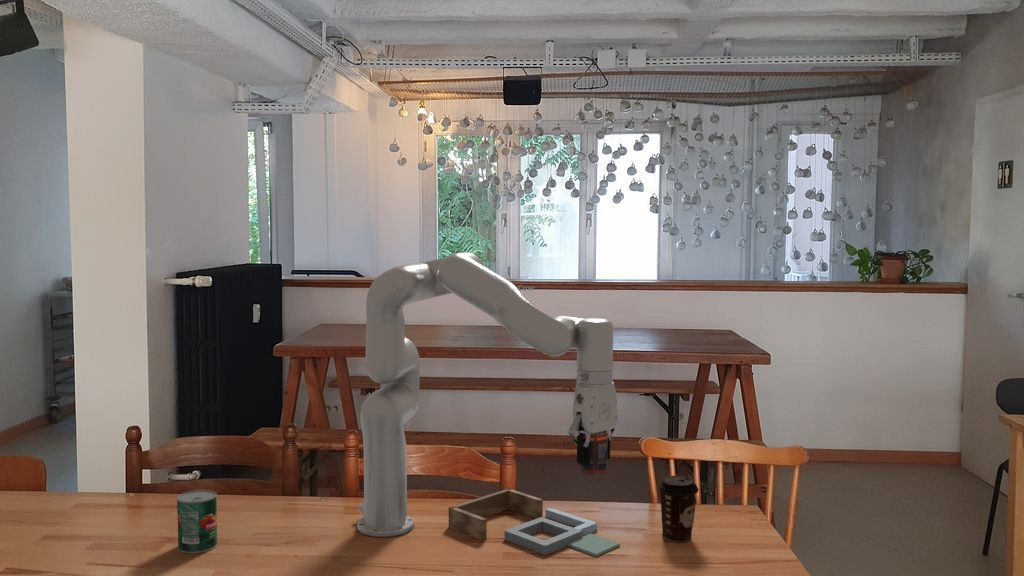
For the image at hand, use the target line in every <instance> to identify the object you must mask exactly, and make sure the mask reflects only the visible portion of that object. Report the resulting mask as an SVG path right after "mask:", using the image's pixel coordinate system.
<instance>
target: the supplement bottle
mask: <svg viewBox="0 0 1024 576" xmlns="http://www.w3.org/2000/svg"><path fill="white" fill-rule="evenodd" d="M583 431H585V430H584V428H583ZM582 437H583V438H585V434H582ZM588 446H589V447H590V465H588V466H586V465H583V464H579V471H580V472H581V473H583V474H584V475H589V476H600V475H604V474H606V473H607V472H608V462H609V461H608V460H609V459H608V433H607V431H603V432H600V433H596V434H591V437H590V441H589V445H588Z"/></svg>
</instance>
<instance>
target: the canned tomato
mask: <svg viewBox="0 0 1024 576" xmlns="http://www.w3.org/2000/svg"><path fill="white" fill-rule="evenodd" d="M217 496H218V495H217V492H216V491H213V490H207V489H206V490H205V489H196V490H192V491H191V490H190V491H187V492H184V493H180V494H179V495H178V496H177V497H176V502H177V503H176V509H177V510H176V511H177V512H176V513H177V542H178V543H177V544H178V545H177V550H178V552H181V553H183V554H200V553H205V552H209V551H211V550H214V549H215V548H216V547H218V517H217V515H218V509H217V507H218V505H217V503H218V502H217Z"/></svg>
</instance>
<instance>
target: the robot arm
mask: <svg viewBox="0 0 1024 576" xmlns="http://www.w3.org/2000/svg"><path fill="white" fill-rule="evenodd" d="M450 294H453V295H455V296H457V297H458V298H460V299H461V300H463V301H465V302H467V304H469V305H471V306H473V307H475V308H477V309H478V310H480V311H482V312H483V313H484V314H486V315H488V316H489V317H491V318H492V319H493V320H495V321H496V323H498V324H499V325H501V326H502V327H503V328H504V329H506V331H508V332H509V333H510V334H511V335H513V336H514V337H516V338H517V339H519V340H520V341H522V342H524V343H525V344H527V345H528V346H530V347H531V348H533V349H535V350H537V351H538V352H539V353H542V354H544V355H547V356H550V357H559V356H563V355H564V354H566V353H567V352H569V351H570V350H576V385H575V390H574V396H573V407H572V424H571V425H570V427H569V429H568V431H567V432H568V434H569V436H570V437H571V438H572V440H573V442H574V444H575V446H576V463H577V464H579V465H580V464H583V465H586V466H588V465H590V447H589V446H588V445H589V441H590V437H591V434H596V433H600V432H603V431H607V433H608V460H609V459H611V441H612V439H613V433H614V431H615V428H616V427H617V425H618V423H619V419H618V401H617V392H616V386H615V382H614V381H613V375H614V374H613V368H614V367H613V364H614V361H613V360H614V356H613V355H614V325H613V323H612V321H611V320H609V319H607V318H597V317H590V318H580V317H579V318H578V317H572V316H567V315H557V316H553V317H552V316H550V315H548V314H547V313H546V312H543V311H542V310H541V309H539V308H537V307H535V306H534V305H533V304H531V303H530V301H528V300H526V298H525V297H523V295H522V294H521V292H520V290H519V289H518V287H517V286H516V285H515V284H514V283H513V282H511V281H510V280H508V279H506V278H504V277H503V276H501V275H499V274H498V273H496V272H494V271H492V270H491V269H489V268H487V267H486V266H484V263H483V261H482V259H480V257H478V256H477V254H475V253H472V252H467V251H464V252H456V253H451V254H449V255H447V256H446V257H442V258H436V259H433V260H432V259H431V260H427V261H423V262H419V263H418V262H417V263H412V264H411V263H409V264H402V265H398V266H395V267H392V268H389V269H388V270H386V271H384V272H382V273H381V274H379V275H378V276H377V277H376V278H375V279H374V280H373V281H372V283H371V284H370V287H369V288H368V290H367V294H366V302H365V307H366V310H365V315H366V318H365V319H366V321H365V324H366V325H365V326H366V328H365V370H366V373H367V375H368V377H369V378H370V379H371V380H372V381H373V382H375V383H377V384H380V388H378V389H377V390H375V391H373V392H372V393H370V394H369V395H368V396H367V397H366V398H365V400H364V401H363V403H362V405H361V409H360V412H359V414H360V415H359V418H360V427H361V433H362V442H363V443H362V444H363V445H362V446H363V501H362V504H359V505H358V506H357V510H358V511H360V512H362V518H360V519H359V520H358V521H357V525H356V526H357V530H358V531H359V532H360V533H361V534H363V535H364V536H365V535H366V536H369V537H378V538H383V537H387V538H388V537H395V536H399V535H400V536H401V535H403V534H406V533H408V532H410V531H411V530H412V529H413V527H414V525H415V524H414V523H415V521H414V519H413V517H411V516H409V515H408V512H407V511H408V510H407V509H408V503H407V502H408V495H407V494H408V493H407V492H408V491H407V488H408V487H407V486H408V484H407V483H408V479H407V477H408V475H407V473H408V471H407V469H408V468H407V465H408V464H407V461H408V460H407V457H408V456H407V442H406V441H407V440H406V435H405V430H404V424H405V423H406V422H408V421H409V420H411V418H412V417H414V415H415V414H416V413H417V410H418V408H419V404H420V370H421V369H420V366H421V365H420V355H419V351H418V349H417V346H416V345H415V343H414V342H413V341H411V339H409V338H407V337H406V336H405V334H406V333H405V330H406V324H405V321H406V320H405V316H404V311H403V310H404V307H406V305H408V304H413V303H417V302H421V301H424V300H428V299H432V298H436V297H438V298H439V297H443V296H446V295H450ZM583 428H584V430H585V431H583ZM582 434H585V438H583V437H582Z"/></svg>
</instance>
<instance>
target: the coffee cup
mask: <svg viewBox="0 0 1024 576" xmlns="http://www.w3.org/2000/svg"><path fill="white" fill-rule="evenodd" d="M661 481H662V482H661V483H660V484H659V486H658V490H659V492H660V493H659V495H660V511H661V526H662V527H661V529H662V532H661V533H662V534H661V538H662V539H664V540H666V541H668V542H672V543H686V542H688V541H690V540H691V539H692V534H693V533H692V532H693V526H694V523H695V522H694V521H695V514H696V513H695V512H696V503H697V498H696V494H697V493H698V492H699V490H700V489H699V487H698V486H697V483H695V480H694V479H693V478H692V477H690V476H682V475H669V476H665V477H663V478H662V479H661Z"/></svg>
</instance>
